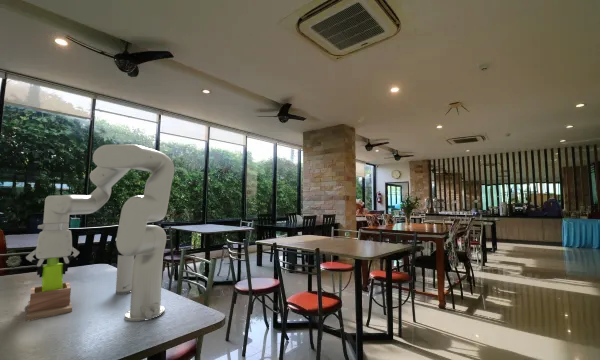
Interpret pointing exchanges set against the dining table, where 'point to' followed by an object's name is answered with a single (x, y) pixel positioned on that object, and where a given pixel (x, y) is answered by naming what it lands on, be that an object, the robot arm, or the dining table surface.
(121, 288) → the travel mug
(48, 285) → the soap dispenser
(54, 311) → the socket caddy
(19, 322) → the dining table surface
